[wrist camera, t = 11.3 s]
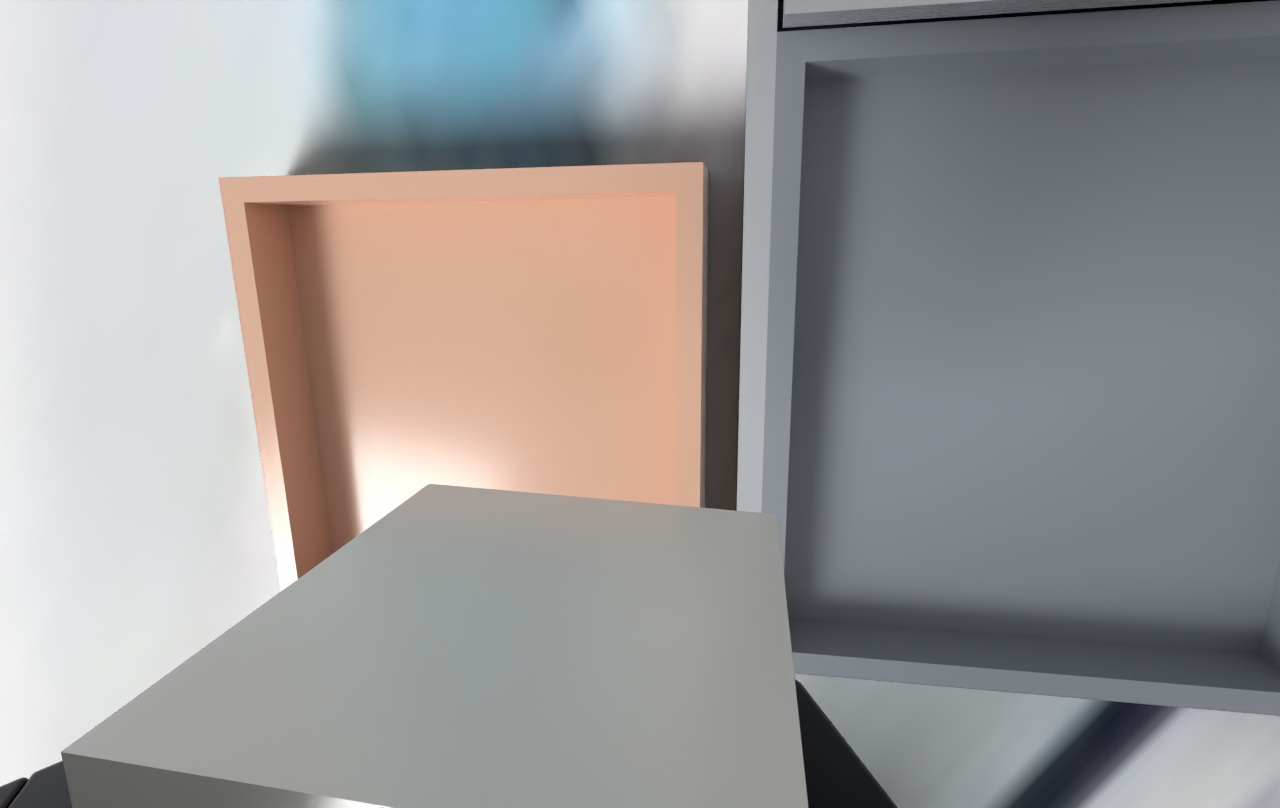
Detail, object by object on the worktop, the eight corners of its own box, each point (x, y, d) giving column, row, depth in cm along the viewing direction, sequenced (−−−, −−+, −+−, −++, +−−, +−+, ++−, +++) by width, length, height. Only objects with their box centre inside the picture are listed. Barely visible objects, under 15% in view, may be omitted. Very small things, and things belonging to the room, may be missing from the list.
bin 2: (1289, 664, 17) (1365, 723, 15) (734, 622, 19) (733, 667, 17) (1715, -1099, 10) (1972, -1456, 8) (769, -845, 12) (773, -1071, 10)
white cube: (751, 820, 8) (755, 1418, 4) (442, 772, 9) (163, 1248, 5) (776, 514, 7) (816, 878, 3) (428, 483, 8) (63, 751, 4)
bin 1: (704, 604, 19) (698, 647, 17) (330, 577, 21) (284, 613, 19) (709, 172, 17) (702, 161, 14) (279, 185, 18) (218, 177, 16)
